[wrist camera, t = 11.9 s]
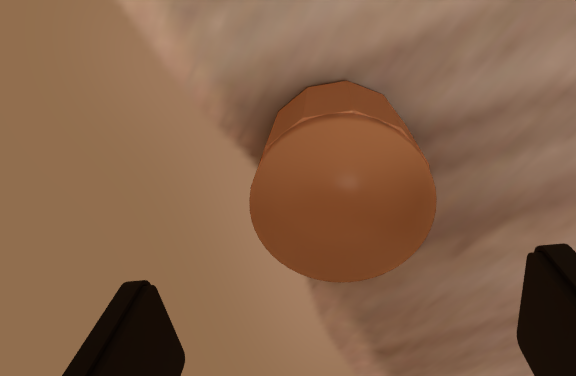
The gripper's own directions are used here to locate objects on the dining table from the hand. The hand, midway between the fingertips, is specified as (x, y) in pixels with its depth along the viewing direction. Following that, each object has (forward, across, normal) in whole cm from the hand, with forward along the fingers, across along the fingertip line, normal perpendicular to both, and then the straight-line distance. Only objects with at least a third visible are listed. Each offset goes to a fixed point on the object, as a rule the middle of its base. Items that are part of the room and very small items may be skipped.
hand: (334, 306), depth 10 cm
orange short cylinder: (+11, 0, 0) cm, 11 cm away
